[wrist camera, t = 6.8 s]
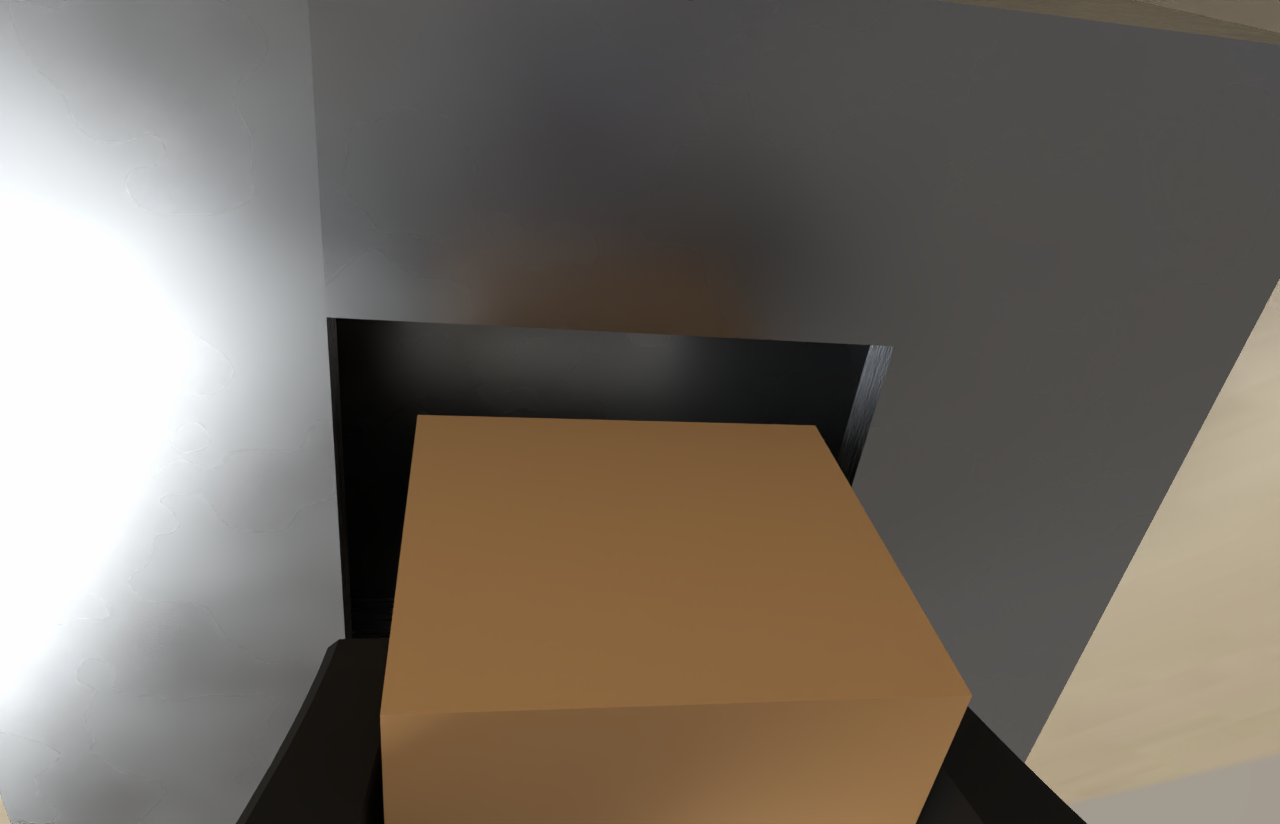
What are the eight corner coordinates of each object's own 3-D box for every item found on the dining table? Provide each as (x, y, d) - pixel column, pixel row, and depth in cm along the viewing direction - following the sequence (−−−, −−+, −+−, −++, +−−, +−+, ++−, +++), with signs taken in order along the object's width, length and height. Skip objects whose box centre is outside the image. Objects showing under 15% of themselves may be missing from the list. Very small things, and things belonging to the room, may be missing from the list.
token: (815, 425, 10) (972, 695, 7) (745, 694, 13) (839, 996, 9) (417, 414, 10) (380, 714, 6) (419, 704, 12) (393, 1039, 8)
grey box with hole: (1085, -11, 15) (1394, 59, 10) (868, 615, 22) (982, 843, 17) (3, -159, 12) (-361, -168, 7) (160, 621, 19) (40, 900, 14)
